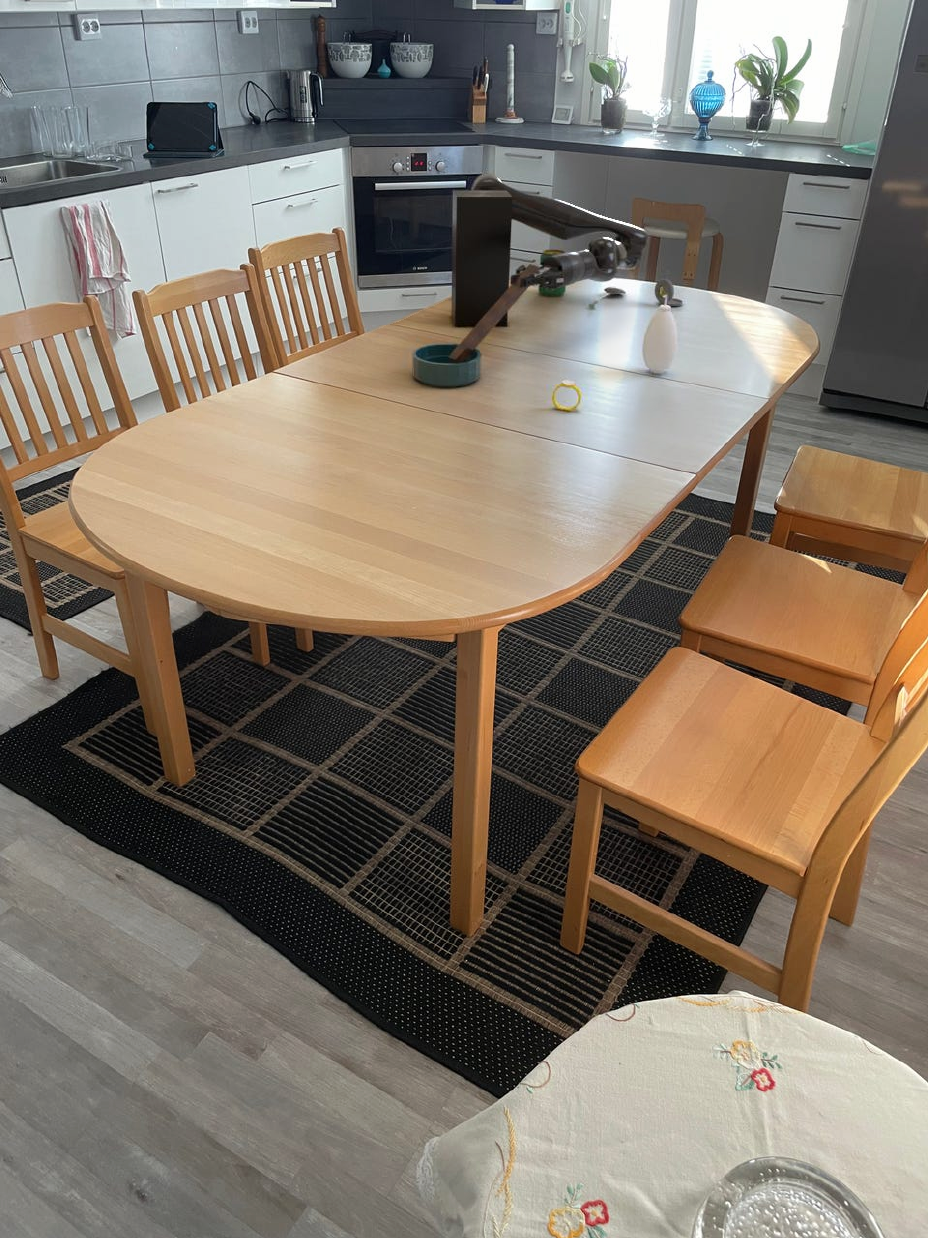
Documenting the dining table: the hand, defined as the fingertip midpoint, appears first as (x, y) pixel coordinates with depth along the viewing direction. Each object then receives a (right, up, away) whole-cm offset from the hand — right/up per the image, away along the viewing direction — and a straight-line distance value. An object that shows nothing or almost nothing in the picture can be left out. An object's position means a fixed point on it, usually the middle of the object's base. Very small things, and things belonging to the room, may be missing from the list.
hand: (516, 281), depth 219 cm
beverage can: (+14, +19, +63) cm, 67 cm away
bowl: (-16, -23, -3) cm, 29 cm away
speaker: (-8, +2, +36) cm, 37 cm away
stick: (-5, -8, -1) cm, 10 cm away
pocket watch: (+47, +13, +55) cm, 73 cm away
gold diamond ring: (+9, -34, -19) cm, 41 cm away
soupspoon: (+29, +15, +57) cm, 66 cm away
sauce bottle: (+33, -21, +2) cm, 39 cm away
